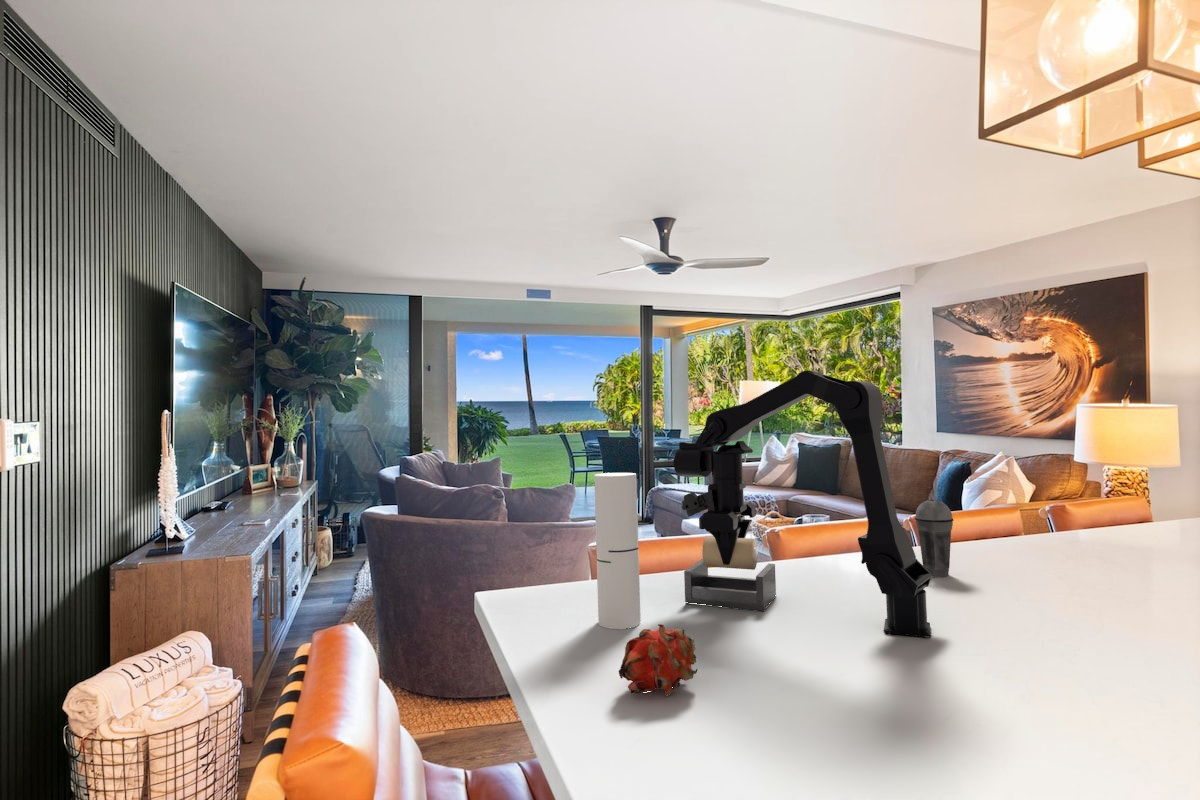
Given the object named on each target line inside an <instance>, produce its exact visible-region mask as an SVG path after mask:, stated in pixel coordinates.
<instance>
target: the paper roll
mask: <svg viewBox="0 0 1200 800" xmlns="http://www.w3.org/2000/svg"><path fill="white" fill-rule="evenodd" d="M701 551H702V559H703V562H704V565H705V566H706V567H708V568H721V569H722V568H724V569H739V570H751V571H754V570H756V568H757V563H758V554H759V553H758V551H759V550H758V545H757V540H756V539H755V538H747V537H745V538H737V542H736V545H735V548H734V552H733V555H732V558H731V561H730V564H729V565H724V564H723V562H722V558H721V555H720V552H719V549H718V546H717V543H716V540H715V537H714V536H705V537H704V539H703V543H702V549H701Z"/></svg>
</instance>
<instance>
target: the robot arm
mask: <svg viewBox="0 0 1200 800" xmlns="http://www.w3.org/2000/svg"><path fill="white" fill-rule="evenodd" d="M811 396H812V397H814V398H817V399H819V400H821V401H823V402H825V403H829V404H831V405H834V408H835V411H836V413H837V415H838V417H839V420H840V422H841V424H842V425H843V428H844V429H845V431H846V432H847V434H848V435H849V437H850V440H851V445H852V448H853V449H852V450H853V455H854V460H855V464H856V469H857V474H858V480H859V485H860V489H861V490H860V491H861V494H862V498H863V503H864V504H863V505H864V510H865V514H866V515H865V516H866V519H867V531H866V534H863V535H861V536H860V537H859V536H858V537H857V542H858V545H859V548H860V550H861V564H862V565H864V564H865V567H866V569H867V571H868V573H869V575H870V576H872V577H873V578H874V579H875V580H876V583H877V585H878V587H879V590H880V592H881V594H882V595H885V602H886V618H885V619H884V626H883V633H884V634H885V633H886V634H891V635H892V634H893V635H903V636H904V635H905V636H915V637H923V638H931V636H932V635H931V623H930V622H928V614H927V613H928V612H927V610H928V609H927V591H926V590H925V589H926V588H928V587H929V586H930V583H931V580H932V574H931V573H930V572H929V571H928V570H927V569H926V568H925V567H924V566H923V563H921V562H920V561H919V560H918V559H917V557H916V552H915V551H914V548H913V545H912V542H911V540H910V538H909V535H908V534H907V532H906V531H905V529H904V527H903V526H902V524H901V523H900V521H899V518H898V515H897V510H896V506H895V505H896V504H895V500H894V495H893V492H892V491H893V489H892V486H891V482H890V476H889V472H888V467H887V463H886V456H885V452H884V448H883V443H882V439H881V428H882V422H883V421H882V420H883V415H884V413H883V396H882V391H881V390H880V388H879V387H878V386H877V385H875V384H874V383H872V382H868V381H864V380H863V381H862V380H843V379H840V378H838V377H837V378H836V377H834V376H829V375H827V374H824V373H822V372H820V371H817V370H806V369H805V370H803V371H801V372H799V373H798V374H797V375H795V376H794V377H791V378H790V379H788V380H786V381H785V382H782V383H780V384H779V385H777V386H774V387H773V388H771V389H770V390H768V391H766V392H764V393H762V394H760V395H758V396H757V397H754V398H753V399H751V400H749V401H746V402H745V403H741V404H738V405H734V406H729V407H726V408H723V409H718V410H716V411H713V412H711V413H710V414H709V415H708V416H707V417H706V419H705V423H704V424H705V425H704V427H703V430H702V431H701V432H700V434H699V436H698V438H697V439H696V441H695V442H693V441H680V442H679V443H678V446H679V447H678V449H677V450H676V452H675V454H674V458H673V460H672V461H673V463H672V464H673V468H674V472H675V474H677V475H678V476H679V477H692V478H693V477H696V478H698V477H699V478H702V477H703V478H707V477H709V476H710V475H711V483H709V485H708V486H707V492H704V493H701V494H699V495H697V493H696V492H694V491H693V492H689V493H688V494H685V495H683V501H681V505H682V506H681V509H682V510H683V511H685V512H686V515H687V517H688V518H690V517H692V516H694V515H696V514H699V513H701V512H703V511H705V512H703V513H702V515H700V517H699V518H698V525H699V526H698V529H699V530H705V531H706V532H708V533H709V534H710V535H712V537H715V540H716V543H717V546H718V549H719V552H720V555H721V558H722V562H723V564H724V565H729V564H730V561H731V558H732V555H733V552H734V548H735V545H736V542H737V538H747V537H746V536H747V535H748V532H749V530H750V529H749V528H750V526H751V524H752V522H753V519H754V518H755V517H756V514H757V513H756V511H757V510H756V505H754V504H753V503H752V502H751V501H744V497H745V496H744V489H746V488H747V483H746V481H744V477H743V476H744V475H743V455H745V454H752V453H753V452H754V450H753V449H752V448H751V446H749V445H747V444H746V442H745V441H744V440H741V439H742V438H743V437H745V436H746V435H747V434H749V433H750V432H751V431H752V430H753V429H754V428H755V427H756V426H757V425H758V424H759V423H761V422H762V421H763V420H766V419H768V418H769V417H771V416H773V415H775V414H777V413H779V412H781V411H784V410H785V409H787V408H789V407H791V406H794V405H795V404H797V403H799V402H801V401H804V400H806V399H807V398H809V397H811ZM730 442H736V443H734V444H728V443H730ZM715 447H719V448H717V449H716V450H715V449H714V448H715ZM706 510H707V511H706ZM745 516H746V517H747V516H749V518H750V519H747V518H746V517H745ZM752 518H753V519H752Z"/></svg>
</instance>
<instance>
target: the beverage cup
mask: <svg viewBox="0 0 1200 800" xmlns="http://www.w3.org/2000/svg"><path fill="white" fill-rule="evenodd" d="M933 484H934V486H933V487H934V489H933V499H928V500H925V501H923V502H922V503H920V504H919V505H918V506H917V508H916V511H915V516H914V520H915V524H916V528H917V530H918V537H919V538H918V539H919V547H920V555H921V560H922V565H923V566H924V567H925V568H926V569H927V570H928V571H929V572H930V573H931V574H932V577H934V578H947V577H949V576H950V575H949V574H950V573H949V572H950V566H951V565H950V563H951V543H952V542H951V540H952V539H951V538H952V530H953V525H954V523H953V522H954V518H953V514H952V511H951V509H950V508H949V507H948V505H947V504H945V503H944V502H942V501H941V500H938V499H937V498H938V497H937V496H938V478H934V483H933Z"/></svg>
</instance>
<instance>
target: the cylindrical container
mask: <svg viewBox="0 0 1200 800" xmlns="http://www.w3.org/2000/svg"><path fill="white" fill-rule="evenodd" d="M593 476H594V481H593V482H594V483H593V484H594V507H595V508H594V509H595V510H594V513H595V514H594V517H595V518H594V519H595V544H596V545H595V546H596V548H595V550H596V576H597V577H596V579H597V582H596V583H597V587H596V588H597V609H598V610H597V617H598V625H599V626H600V627H602V628H604V629H607V630H608V629H610V630H627V629H626V628H628V629H631V628H630V627H633V628H635V627H634V626H636V627H638V626H639V625H638V624H641V623H642V622H641V619H642V617H641V613H642V612H641V593H640V591H641V587H640V585H641V584H640V557H639V555H640V553H639V552H640V551H639V523H638V522H639V521H638V520H639V519H638V492H637V490H638V488H637V473H635V472H634V473H633V472H604V473H596V474H594V475H593ZM640 622H641V623H640ZM637 625H638V626H637Z"/></svg>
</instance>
